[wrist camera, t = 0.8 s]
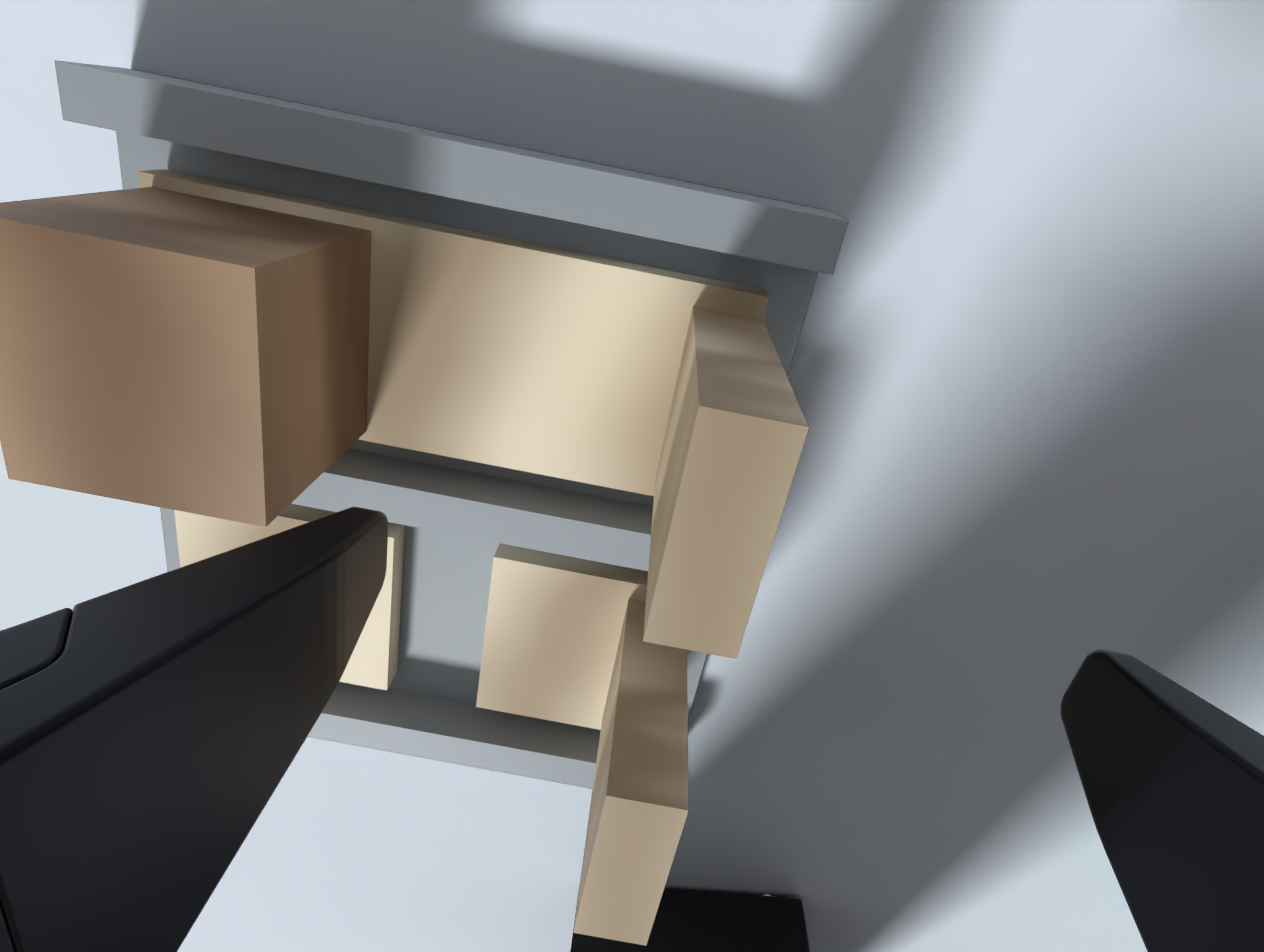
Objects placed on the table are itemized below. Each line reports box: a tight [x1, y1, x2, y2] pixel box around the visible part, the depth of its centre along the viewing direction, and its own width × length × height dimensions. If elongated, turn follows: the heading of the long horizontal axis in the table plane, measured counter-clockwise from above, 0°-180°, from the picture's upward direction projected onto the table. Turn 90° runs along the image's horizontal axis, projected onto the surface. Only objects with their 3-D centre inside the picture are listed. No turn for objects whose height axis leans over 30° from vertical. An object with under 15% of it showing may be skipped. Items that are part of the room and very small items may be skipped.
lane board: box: [55, 61, 849, 789], centre depth 18 cm, size 15×16×2 cm
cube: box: [0, 187, 371, 527], centre depth 14 cm, size 4×4×4 cm
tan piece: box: [138, 169, 809, 659], centre depth 13 cm, size 13×5×7 cm, turn 80°
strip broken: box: [174, 504, 689, 946], centre depth 17 cm, size 13×5×7 cm, turn 80°
